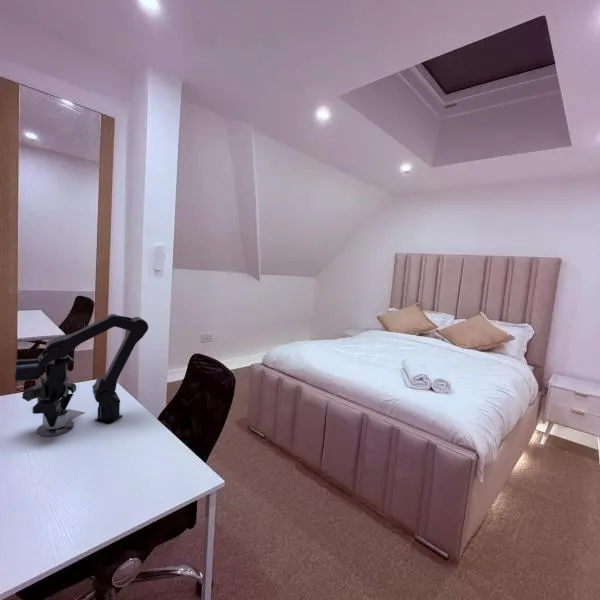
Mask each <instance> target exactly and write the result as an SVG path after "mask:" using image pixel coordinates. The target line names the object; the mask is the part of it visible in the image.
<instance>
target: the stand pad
mask: <svg viewBox="0 0 600 600" xmlns="http://www.w3.org/2000/svg"><path fill="white" fill-rule="evenodd" d="M66 410H68V420H71V421H72V420H73V419H76V418H78V417H80V416H82V415H84V414H86V413H87V412H85V411H80V410H76V409H70V408H66Z"/></svg>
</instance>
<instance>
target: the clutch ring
mask: <svg viewBox="0 0 600 600" xmlns="http://www.w3.org/2000/svg"><path fill="white" fill-rule="evenodd" d="M67 423H68V410H67V408H66V409H61V411H60V413H59V416H58V418H57V420H56V423H55V425H54V427H50V426H49V424H48V422H47V419H46V417H45V415H44V414H43V415H42V425H43V428H45V429H47V430H48V429H58V428H61V427H63V426H66V424H67Z"/></svg>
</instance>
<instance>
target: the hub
mask: <svg viewBox="0 0 600 600" xmlns="http://www.w3.org/2000/svg"><path fill="white" fill-rule="evenodd" d="M74 426H75V423H74V421H72V420H68V423H67V424H66V426H63V427H61V428H58V429H48V430H47V429H45V428H43V424H41V425H39V426H38V427H37V428H36V435H37V436H39V437H40V438H41V437H42V438H52V437H58V436H62V435H64V434H68V432H71V431H72V430H73V429H74Z"/></svg>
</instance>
